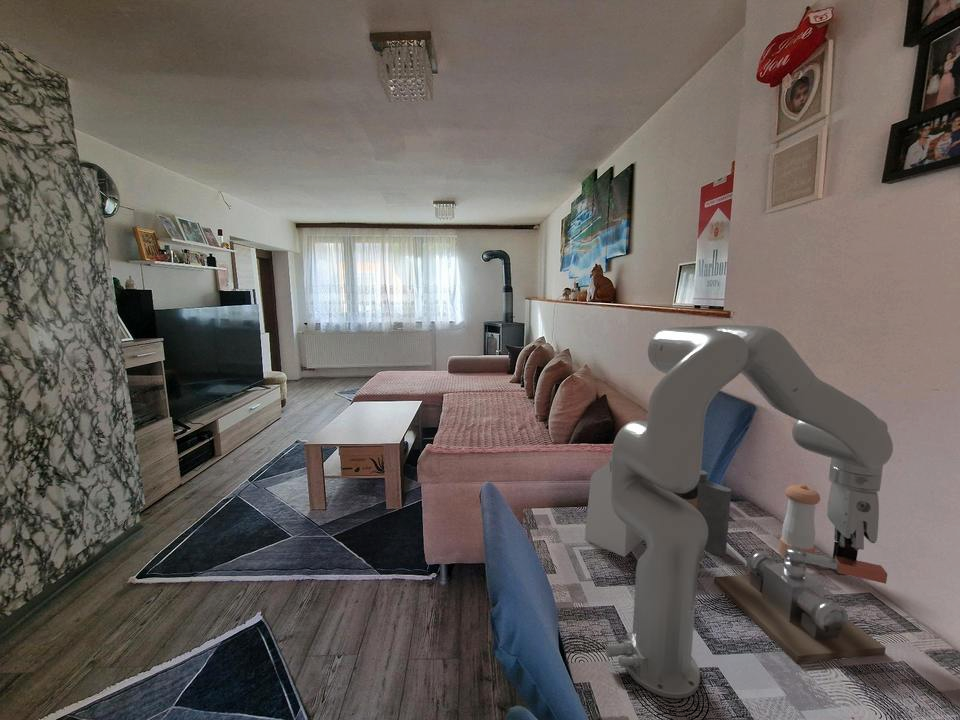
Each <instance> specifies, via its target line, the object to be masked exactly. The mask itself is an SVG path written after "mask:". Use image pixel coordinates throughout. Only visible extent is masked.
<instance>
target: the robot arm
mask: <svg viewBox="0 0 960 720" xmlns="http://www.w3.org/2000/svg"><path fill="white" fill-rule="evenodd" d="M647 346H648V347H647V357H648V361H649V362H650V364H651V366H652V367H654V368H655V369H656V370H657V371H658V372H661V373H663V374H665V375H664V376H663V377H662V378H661V379H660V381H659V382H658V383H657V384H656V386H655V387H654V388H653V391H652V392H651V394H650V397H649V401H648V407H647V415H646V420H633V421H630V422H628V423H626V424H625V425H623V426H622V427H621V428H620V430H619V431H618V432H617V434H616V436H615V439H614V441H613V444H612V450H611V451H612V469H611V502H612V507H613V510H614V512H615V514H616V515H617V516H618V518H619V519H620V520H621V521H623V522H624V523H625V524H626V525H627V526H628V527H630V528H631V529H632V530H633V531H635V532H636V533H637V534H638V535H639V536H640V537H641V538H642V539H643V540H642V541H644V542H645V544H646V550H645V551H644V553H643V554H642V555H641V556H640V557H639V558H638V561H637V563H636V568H635V585H634V587H635V588H634V601H633V603H634V604H633V620H632V632H628V633H626V639H625V640H622V641H621V643H616V642H615V643H614V642H613V643H606V644H605V646H604V648H605V654H606V656H607V658H612V657H613V658H617V657H618V658H617V659H618V665H619V666H620V667H621V668H625V670H626V671H627V673H628V674H629V676H630V677H631V678H632V679H633V680H634V681H635V682H636V683H637V684H638V685H640V686H641V687H642V688H644V689H645V690H647V691H648V692H651V693H653V694H654V695H657V696H660V697H663V698H667V699H676V700H679V699H685V698H689V697H691V696H692V695H693V694H695V693H696V692H697V690H699V687H700V684H701V683H700V682H701V672H700V669H699V665H698V664H697V662H696V660H695V658H693V656H692V653H693V652H692V649H693V640H694V638H693V636H694V625H695V611H696V602H697V600H696V599H697V597H696V596H697V587H698V586H697V585H698V578H699V577H698V576H699V571H700V564H701V561H702V557H703V554H704V551H705V546H706V543H707V539H708V526H707V523H706V521H705V519H704V517H703V516H702V514H701V513H700V512H699V511H698V510H697V509H696V508H695V507H694V506H693V505H691V504H690V503H689V502H687V501H686V500H684V499H682V498H681V497H679V496H677V495H676V494H674V493H687V492H690V491H691V490H692V489H694V488H695V487H696V485H697V483H698V481H699V478H700V473H701V470H702V465H703V463H702V462H703V449H704V447H703V446H704V431H705V420H706V415H707V414H706V413H707V410H708V407H709V405H710V403H711V402H712V400H713V399H714V397H716V395H717V394H718V393H719V392H720V391H721V390H722V389H723V388H725V386H726V385H728V384H729V383H730V382H732V381H733V380H735V378H737V377H738V376H739V375H740V374H741V375H743V376H744V377H745V379H747V381H749V383H750V384H751V385H752V386H753V387H754V389H756V390H757V392H758V394H760V395H761V397H763V398H764V400H766V403H767V404H769V405H770V406H771V407H773V408H774V409H775V410H777V411H779V412H781V413H783V414H785V416H787V417H788V416H789V417H790V418H793V419H795V420H797V421H795V422H794V424H793V425H792V429H791V435H792V439H793V440H794V442H795V444H797V445H798V446H799V447H801V448H802V449H804V450H806V451H809V452H811V453H815V454H818V455H821V456H822V457H823V456H824V457H826V458H830V464H829V472H828V473H829V475H828V481H829V482H830V483H831V484H830V489H829V493H828V500H827V514H826V515H827V517H828V519H829V521H830V522H831V524H832V525H833V526H834V536H833V538H834V542H833V543H834V544H833V552H832V553H833V554H832V558H835V556H839V557H843V558H848V559H853V560H857V559H858V553H859V550H861V551H863V550H864V549H865V547H864V546H865V538H866V540H867V541H869V542H870V543H871V544H875V543H877V542H878V535H879V534H878V533H879V518H880V517H879V514H880V505H879V503H880V502H879V492H881V486H882V483H881V482H882V476H883V468H884V465H885V464H887V463H888V462H889V461H890V459H891V458H892V455H893V453H894V452H893V451H894V445H893V440H892V437H891V435H890V432H889V431H888V430H889V429H888V428H889V427H888V424H887V423H886V421H884V420H883V419H881V418H879V417H878V416H877V415H876V414H875V413H874V412H873V411H872V410H871V409H870V408H869V407H867V406H865V405H864V404H863V403H861V402H859V401H858V400H856V399H854V398H853V397H851V396H849V395H848V394H846V393H844V392H842V391H841V390H839V389H838V388H837V387H834V386H832V385H831V384H829V383H827V382H825V381H823V380H821V379H820V378H818V377H817V376H816V374H815V373H814V371H812V370H811V368H810V367H809V366H808V364H807V363H806V362H805V361H804V359H803V357H802V356H801V355H800V354H799V352H797V351H796V349H795V348H794V347H793V345H792V344H791V343H790V341H789V340H788V339H787V338H786V337H785V336H784V335H783V334H782V333H781V332H779V331H778V330H776V329H775V328H772V327H769V326H759V325H739V324H738V325H737V324H714V325H713V324H712V325H702V326H700V325H699V326H681V327H680V326H678V327H676V326H675V327H666V328H664V329H661V330H660V331H657V332H656V333H655V334H654V335H653V336H652V337H651V339H650V341H649V342H648V345H647ZM672 492H674V493H672ZM857 561H858V560H857Z"/></svg>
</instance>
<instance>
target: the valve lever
mask: <svg viewBox="0 0 960 720" xmlns="http://www.w3.org/2000/svg"><path fill="white" fill-rule="evenodd" d="M785 558H787V559H788V560H790V562H792V563H794V564H797V565H800V564H810V565H814V566H820V567H824V568H827V569H828V568H829V569H832V570H836V571H837V573H838V574H842V575H846V576H850V577H854V578H859V579H863V580H868V581H873V582H876V583H882V584H885V585H886V584H887V580H888V573H887V571H886V569H884V567H883V565H881V564H875V563H871V562H865V561H862V560H853V559H848V558H843V557H839V556H835V558H833V557H829V556H825V555H820V554H816V553H815V554H812V553H807V552H805V551H803V550H802V549H799V548H796V547H787V549H786V557H785ZM805 562H806V563H805Z"/></svg>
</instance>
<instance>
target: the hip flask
mask: <svg viewBox="0 0 960 720" xmlns="http://www.w3.org/2000/svg"><path fill="white" fill-rule="evenodd" d="M707 477H708V472H707V471H706V470H703V469H701V473H700V478H699V481H698V483H697V485H698V499H697V510H698V511H699V512H700V513H701V514H702V516H703V517H704V519H705V521H706V523H707V526H708V539H707V543H706V546H705V549H704V551H705V550H706V551H708V552H710V553H712V554H714V555H717V556H721V557H725V556H726V554H727V546H728V535H729V532H728V531H729V521H730V512H731V510H730V509H731V498H732V489H731V488H730V487H727V486H723V485H721V484H718V483H715V482H712V481H710V480H707Z"/></svg>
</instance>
